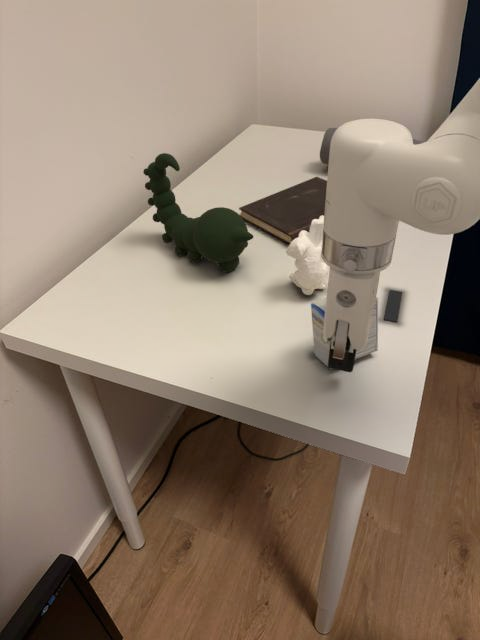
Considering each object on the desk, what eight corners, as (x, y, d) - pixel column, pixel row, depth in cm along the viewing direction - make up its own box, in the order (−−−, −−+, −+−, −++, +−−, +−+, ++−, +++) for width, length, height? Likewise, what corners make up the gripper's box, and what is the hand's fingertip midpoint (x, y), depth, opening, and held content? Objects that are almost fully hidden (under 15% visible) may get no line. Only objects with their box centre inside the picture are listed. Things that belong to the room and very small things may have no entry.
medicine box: (359, 339, 71) (358, 285, 67) (379, 352, 68) (379, 296, 64) (313, 356, 69) (309, 301, 65) (331, 370, 65) (328, 314, 61)
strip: (402, 292, 80) (402, 291, 79) (397, 322, 74) (397, 321, 74) (389, 290, 80) (390, 289, 80) (383, 320, 74) (383, 319, 74)
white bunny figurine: (306, 269, 86) (309, 207, 78) (339, 282, 82) (346, 219, 75) (277, 292, 81) (278, 228, 73) (311, 307, 78) (316, 241, 70)
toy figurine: (147, 253, 95) (238, 293, 80) (124, 157, 84) (224, 182, 69) (183, 235, 100) (275, 269, 85) (166, 142, 89) (267, 162, 74)
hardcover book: (239, 217, 102) (238, 207, 100) (316, 185, 113) (316, 176, 111) (291, 246, 92) (292, 236, 91) (370, 208, 103) (372, 198, 101)
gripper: (385, 289, 45) (361, 415, 57) (400, 216, 56) (377, 335, 68) (306, 276, 47) (299, 401, 59) (335, 209, 58) (324, 325, 70)
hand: (340, 365), depth 63 cm, fingers closed
